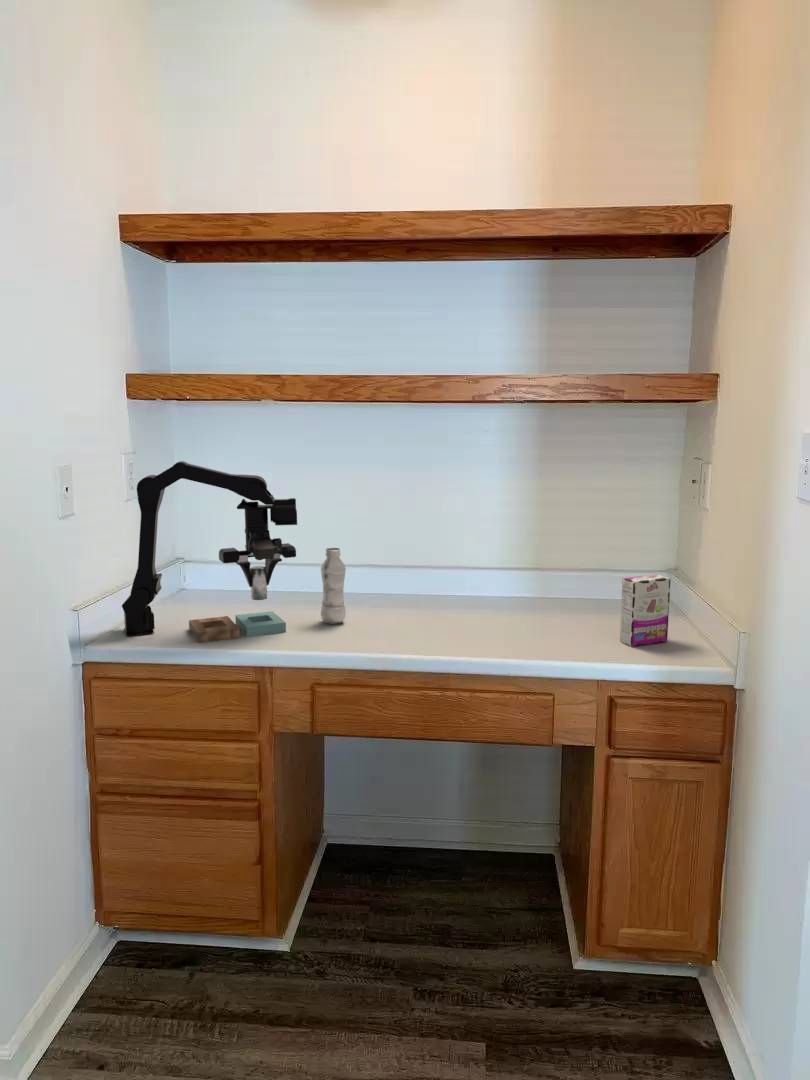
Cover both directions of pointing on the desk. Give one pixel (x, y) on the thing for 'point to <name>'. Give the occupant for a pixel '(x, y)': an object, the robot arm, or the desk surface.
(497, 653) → the desk surface
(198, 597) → the desk surface
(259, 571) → the steel peg
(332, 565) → the plastic bottle
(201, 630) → the socket block
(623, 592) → the candy bar box
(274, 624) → the block
